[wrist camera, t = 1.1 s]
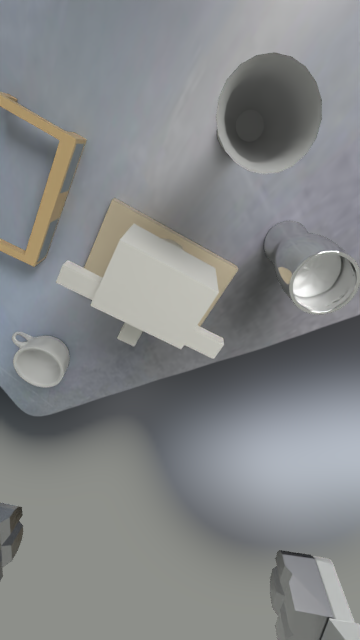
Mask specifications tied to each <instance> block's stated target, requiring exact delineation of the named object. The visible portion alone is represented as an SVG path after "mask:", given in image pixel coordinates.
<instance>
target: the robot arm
mask: <svg viewBox="0 0 360 640" xmlns="http://www.w3.org/2000/svg"><path fill="white" fill-rule="evenodd" d="M21 517H22V507H19V506H14V505H9V504H4V503H0V580H1V578H2V577H3V573H2V572H3V571H2V568H3V567H4V566H5V565H7V564H8V563H9V562H11V561H12V560H13V558H14V556H15V554H16V553H17V551H18V548H19V546H20V543H21V540H22V535H23V525H22V524H21V523H20V521H19V520H20V518H21ZM275 559H276V564H277V566H276V567H275V568H273V569H272V573H271V577H270V596H271V603H272V608H273V609H274V610H275V612H276V614H277V615H278V619H277V622H276V625H275V627H276V633H277V639H278V640H360V624H359V623H355V621H354V619H353V616H352V613H351V611H350V608H349V605H348V603H347V600H346V597H345V594H344V592H343V589H342V587H341V584H340V581H339V578H338V576H337V573H336V571H335V568H334V565H333V563H332V561H331V560H330V559H329V558H324V557H317V556H311V555H307V554H302V553H294V552H289V551H282V550H279V551H278V552H277V555H276V558H275Z"/></svg>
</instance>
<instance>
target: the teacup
mask: <svg viewBox="0 0 360 640" xmlns="http://www.w3.org/2000/svg"><path fill="white" fill-rule="evenodd" d="M16 335H21V336H23V337H24V338H25V339H26V340H27V342H19V341H18V340H17V339H16ZM12 340H13V342H14V343H15V344H16V345H17V346H18V347H19V348H20V349H19V351H18V352H17V353H16V354H15V356H14V359H13V364H14V368H15V370H16V372H17V373H18V374H19V376H20V377H21V378H22V379H24V380H25V381H26V382H28V383H30V384H32V385H35V386H38V387H52V386H55V385H57V384H58V383H59V382H60V381H61V380H62V378H63V376H64V374H65V372H66V370H67V368H68V365H69V359H70V356H69V351H68V349H67V347H66V345H65V344H64V343H63V342H62V341H61V340H59V339H57V338H55V337H52V336H38V337H32V336H30V335H27V334H25V333H23V332H15V333H14V334H13V336H12Z"/></svg>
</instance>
